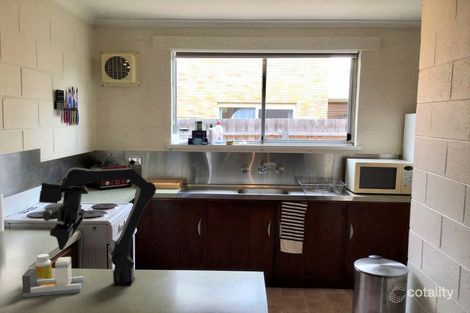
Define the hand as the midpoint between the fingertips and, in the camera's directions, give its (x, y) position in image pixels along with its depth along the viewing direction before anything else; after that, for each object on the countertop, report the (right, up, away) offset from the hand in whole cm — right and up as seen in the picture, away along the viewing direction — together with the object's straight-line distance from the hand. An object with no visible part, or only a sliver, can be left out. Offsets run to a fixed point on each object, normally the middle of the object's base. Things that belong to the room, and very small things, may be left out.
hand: (65, 243), depth 137 cm
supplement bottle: (-12, -16, +8) cm, 21 cm away
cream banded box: (-1, -15, 0) cm, 15 cm away
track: (-4, -17, 0) cm, 17 cm away
